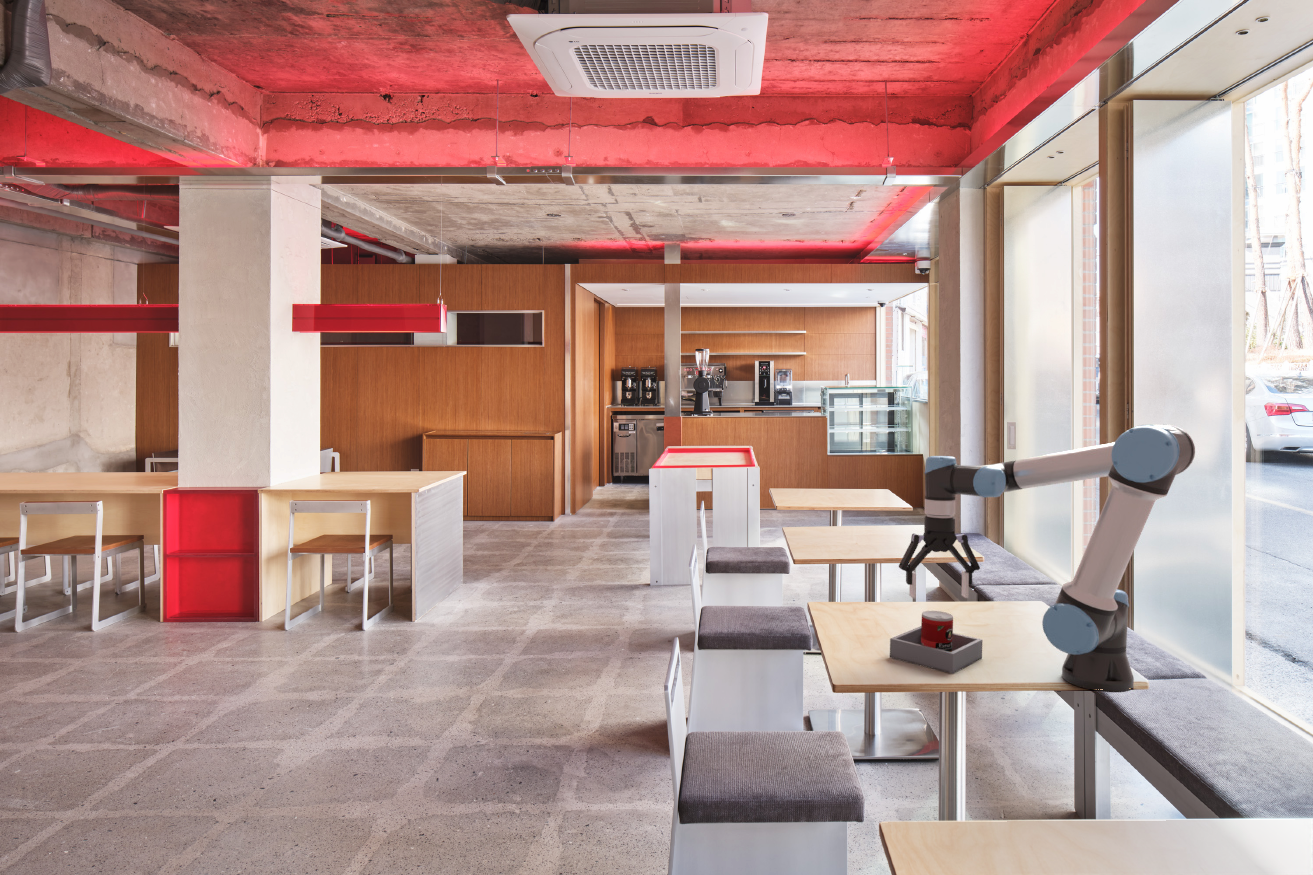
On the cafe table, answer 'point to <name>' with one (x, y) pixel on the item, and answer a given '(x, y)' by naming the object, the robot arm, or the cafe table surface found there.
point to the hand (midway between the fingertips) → (938, 596)
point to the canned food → (937, 630)
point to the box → (936, 651)
